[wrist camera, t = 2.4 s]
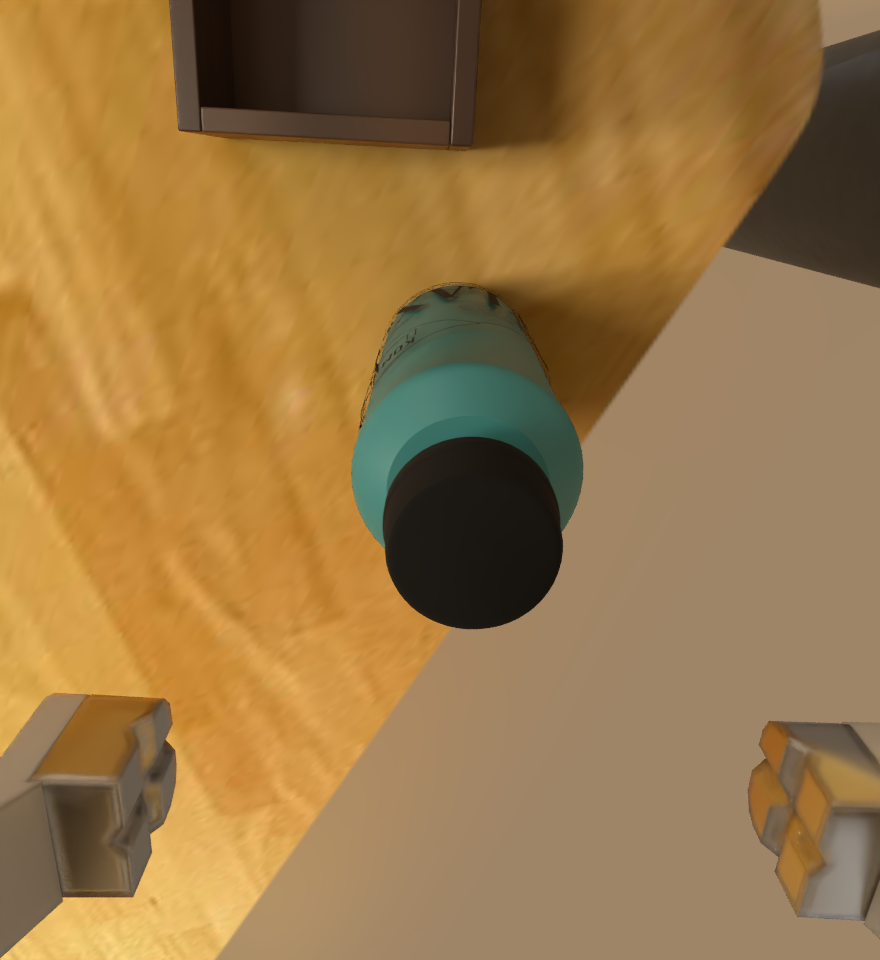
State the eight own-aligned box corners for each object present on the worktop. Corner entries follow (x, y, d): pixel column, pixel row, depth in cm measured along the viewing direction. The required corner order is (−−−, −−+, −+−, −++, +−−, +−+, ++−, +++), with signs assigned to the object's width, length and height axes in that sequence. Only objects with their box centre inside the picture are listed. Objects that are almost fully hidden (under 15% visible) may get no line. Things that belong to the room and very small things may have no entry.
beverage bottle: (544, 295, 34) (678, 448, 15) (502, 434, 36) (575, 711, 18) (400, 258, 33) (358, 369, 15) (367, 401, 36) (296, 654, 17)
